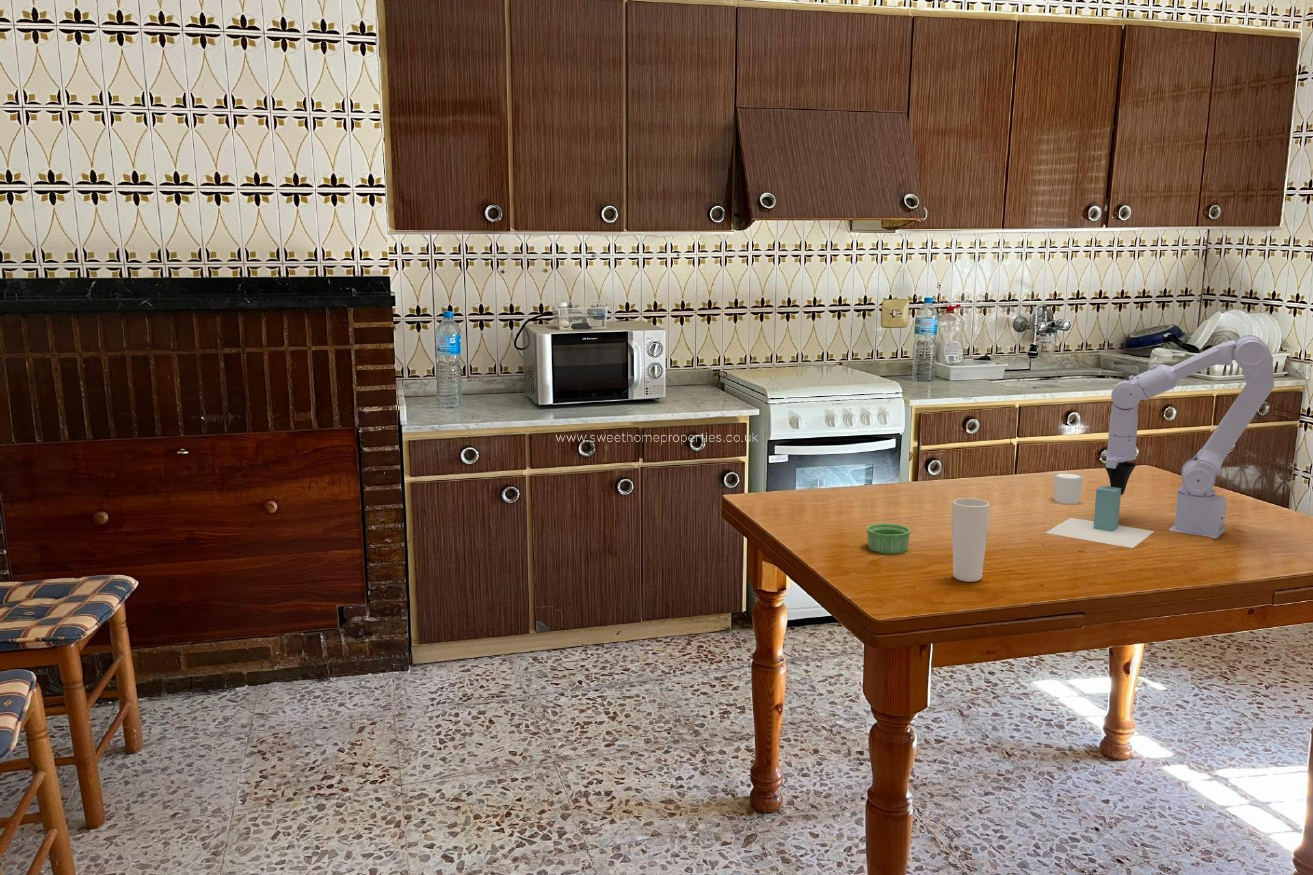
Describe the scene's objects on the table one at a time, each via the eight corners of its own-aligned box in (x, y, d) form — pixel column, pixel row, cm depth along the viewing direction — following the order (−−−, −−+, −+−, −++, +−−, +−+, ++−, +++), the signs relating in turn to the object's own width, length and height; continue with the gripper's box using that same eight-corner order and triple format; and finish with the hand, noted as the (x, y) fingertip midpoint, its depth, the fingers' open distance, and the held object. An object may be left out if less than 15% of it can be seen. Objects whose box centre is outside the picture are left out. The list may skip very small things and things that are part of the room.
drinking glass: (978, 572, 197) (982, 497, 194) (991, 583, 190) (995, 506, 187) (944, 572, 197) (947, 498, 194) (955, 584, 190) (959, 507, 187)
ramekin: (915, 546, 214) (916, 526, 213) (902, 557, 207) (903, 537, 206) (874, 540, 219) (874, 521, 218) (860, 551, 211) (860, 531, 210)
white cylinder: (1076, 500, 251) (1078, 472, 250) (1085, 507, 244) (1087, 478, 243) (1048, 499, 252) (1049, 472, 250) (1056, 506, 245) (1057, 478, 244)
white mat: (1154, 533, 221) (1154, 531, 221) (1132, 550, 209) (1132, 547, 209) (1070, 520, 233) (1070, 517, 233) (1045, 535, 221) (1045, 532, 221)
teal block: (1118, 527, 224) (1121, 488, 223) (1112, 531, 221) (1115, 491, 220) (1099, 524, 227) (1102, 485, 225) (1093, 528, 224) (1096, 488, 222)
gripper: (1114, 428, 234) (1109, 485, 236) (1093, 437, 223) (1088, 497, 225) (1146, 431, 229) (1141, 490, 232) (1127, 441, 218) (1121, 502, 221)
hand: (1117, 494), depth 228 cm, fingers closed
